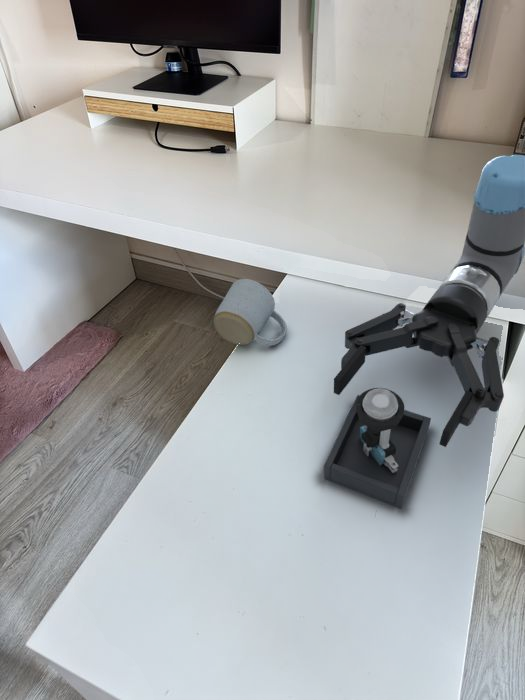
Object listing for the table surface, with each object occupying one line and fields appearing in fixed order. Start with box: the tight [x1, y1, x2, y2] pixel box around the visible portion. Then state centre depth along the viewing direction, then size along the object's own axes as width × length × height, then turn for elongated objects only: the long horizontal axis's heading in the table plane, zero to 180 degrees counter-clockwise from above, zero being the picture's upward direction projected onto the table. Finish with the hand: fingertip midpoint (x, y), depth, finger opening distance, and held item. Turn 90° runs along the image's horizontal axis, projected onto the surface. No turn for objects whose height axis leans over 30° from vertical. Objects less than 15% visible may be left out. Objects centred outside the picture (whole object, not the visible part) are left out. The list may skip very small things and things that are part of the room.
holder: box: [323, 394, 432, 509], centre depth 62 cm, size 10×12×3 cm
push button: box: [356, 387, 405, 473], centre depth 59 cm, size 7×5×10 cm
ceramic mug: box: [212, 278, 288, 347], centre depth 78 cm, size 11×8×8 cm
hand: (387, 412), depth 58 cm, fingers open, 13 cm apart
